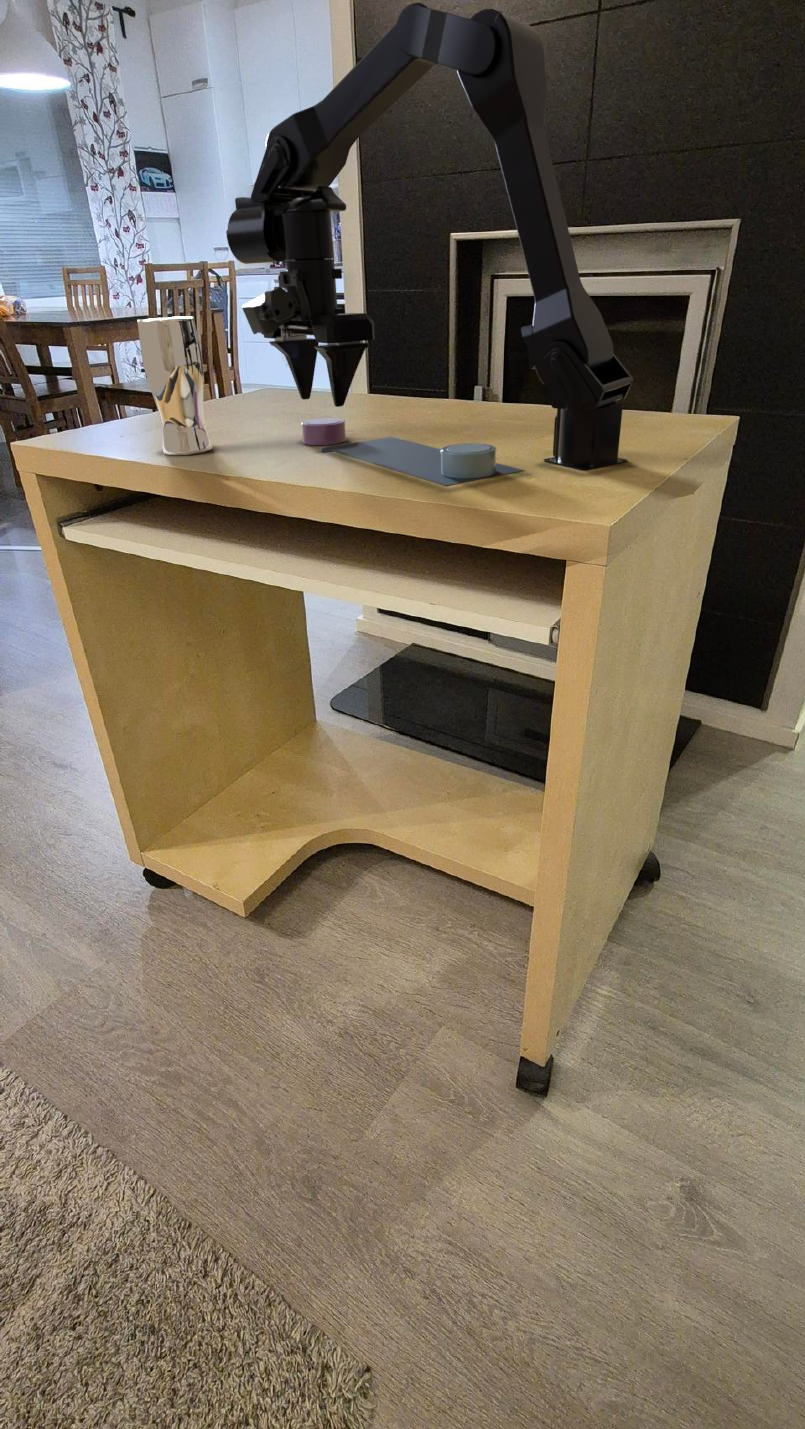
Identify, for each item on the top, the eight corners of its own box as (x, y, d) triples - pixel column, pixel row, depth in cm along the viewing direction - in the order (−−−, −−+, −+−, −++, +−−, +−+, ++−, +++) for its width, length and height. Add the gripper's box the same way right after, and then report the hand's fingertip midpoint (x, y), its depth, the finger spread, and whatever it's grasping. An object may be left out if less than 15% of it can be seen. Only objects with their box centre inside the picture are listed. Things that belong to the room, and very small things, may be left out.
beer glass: (201, 456, 95) (179, 319, 87) (149, 456, 96) (123, 321, 88) (224, 445, 100) (205, 316, 93) (175, 445, 102) (152, 318, 94)
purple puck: (354, 441, 99) (352, 421, 98) (315, 447, 97) (313, 426, 96) (333, 435, 104) (331, 416, 102) (295, 441, 101) (293, 421, 100)
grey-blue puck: (507, 473, 78) (507, 448, 77) (462, 481, 76) (462, 456, 75) (473, 464, 83) (473, 440, 81) (430, 472, 80) (430, 447, 79)
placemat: (524, 475, 79) (524, 470, 79) (445, 491, 75) (445, 485, 75) (391, 440, 99) (391, 436, 98) (322, 451, 94) (321, 447, 94)
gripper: (215, 265, 93) (234, 402, 101) (280, 259, 80) (296, 419, 87) (298, 262, 98) (310, 393, 106) (372, 256, 85) (380, 407, 92)
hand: (321, 402), depth 98 cm, fingers open, 9 cm apart
